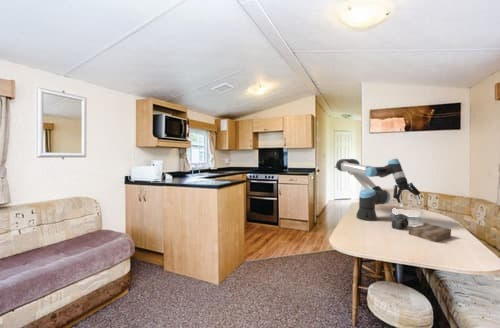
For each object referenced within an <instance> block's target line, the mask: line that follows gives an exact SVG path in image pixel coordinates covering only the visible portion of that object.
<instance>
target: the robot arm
mask: <svg viewBox="0 0 500 328" xmlns="http://www.w3.org/2000/svg"><path fill="white" fill-rule="evenodd" d="M335 167H336V169H337V170H338V171H340V172H347V173H348V174H349V175H350V176H353V177H354V178H355V179H356V181H358V183H359V184H360V185H361V186H362V187H363V189H361V190H360V191H359V195H358V197H359V198H358V199H359V202H358V203H359V204H358V211H357V213H356V218H357V219H359V220H362V221H367V222H368V221H371V222H372V221H377V220H378V216H377V212H376V206H377V205H386V204H388V203H389V202H390V200H391V195H390V194H391V193H390V192H389V191H388V190H387V189H383V188H381V186H380V185H376V184H375V183H374V182H373V181H372V179H370V178H369V177H371V178H373V177H379V178H381V179H382V178H385V177H387V176H390V175H392V176H393V179H394V181H395V182H394V183H396V184H395V185H393V195H392V198H393V199H395V200H396V201H397V203H398V204H399V206H400V208H403V207H404V206H405V205H404V202H403V200H402V197H400V196H401V194H402V192H403V191H408V192H410V193H411V194H413V195H414V199H415V201H416V204H417V205H421V204H422V202H421V198H420V195H421V191H419V189H418V188H417V187H416V186H415V185H414V184H413V182H410V183H409V182H408V179H407V177H406V174H405V171H404V169H403V168H402V165H401V162H400V160H399V159H398V158H392V159H389V160H388V162H387V164H386V165H384V166H369V165H363V164H361V163H360V161H359V160H357V159H355V158H342V159H339V160H337V162H336V164H335Z"/></svg>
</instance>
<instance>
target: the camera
mask: <svg viewBox="0 0 500 328" xmlns="http://www.w3.org/2000/svg"><path fill="white" fill-rule="evenodd" d="M390 222H391V227H392V229H395V230H398V231H401V230H402V228H403V229H404V228H408V227H409V223H410V222H409V216H408V215H406V214H403V213H401V212H400V213H397V214H395V216H394V217H393V218H391V221H390Z"/></svg>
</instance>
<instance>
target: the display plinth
mask: <svg viewBox="0 0 500 328" xmlns="http://www.w3.org/2000/svg"><path fill="white" fill-rule="evenodd" d="M408 235H411V236H413V237H417V238H421V239H423V240H424V239H425V240H426V241H427V240H428V241H430V242H434V243H437V242H440V241H443V240H447V239H450V238H451V237H452V228H448V227H444V226H440V225H437V224H432V223H429V222H423V224H420V225H417V226H412V225H408Z"/></svg>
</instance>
